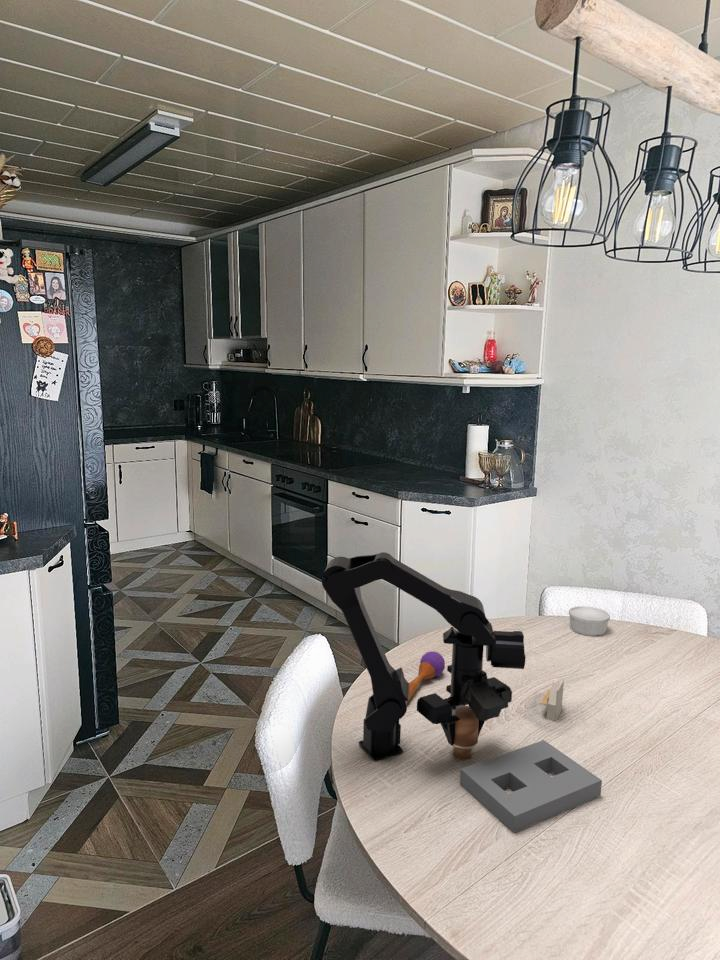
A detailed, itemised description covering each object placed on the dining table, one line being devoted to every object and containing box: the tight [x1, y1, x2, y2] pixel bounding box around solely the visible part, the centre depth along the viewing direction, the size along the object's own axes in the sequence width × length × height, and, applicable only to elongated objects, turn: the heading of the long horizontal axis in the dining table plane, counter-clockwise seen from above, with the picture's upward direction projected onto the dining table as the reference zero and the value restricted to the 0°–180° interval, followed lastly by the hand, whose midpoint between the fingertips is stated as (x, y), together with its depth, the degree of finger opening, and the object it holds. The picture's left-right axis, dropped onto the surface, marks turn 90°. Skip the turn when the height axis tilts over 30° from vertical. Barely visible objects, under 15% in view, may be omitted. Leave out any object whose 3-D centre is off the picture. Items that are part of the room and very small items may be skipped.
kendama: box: [407, 651, 446, 704], centre depth 153 cm, size 6×6×20 cm
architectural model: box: [540, 679, 565, 722], centre depth 142 cm, size 3×7×7 cm, turn 150°
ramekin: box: [568, 605, 611, 637], centre depth 188 cm, size 11×11×5 cm
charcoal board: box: [459, 739, 603, 834], centre depth 116 cm, size 20×14×3 cm
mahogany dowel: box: [452, 705, 479, 761], centre depth 126 cm, size 6×6×9 cm
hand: (463, 740), depth 126 cm, fingers closed on mahogany dowel, 5 cm apart
